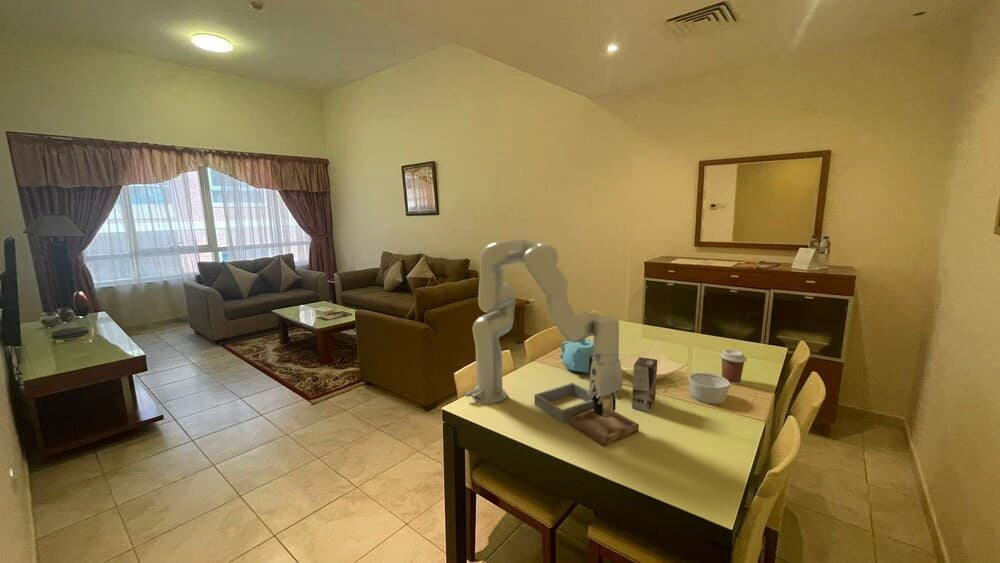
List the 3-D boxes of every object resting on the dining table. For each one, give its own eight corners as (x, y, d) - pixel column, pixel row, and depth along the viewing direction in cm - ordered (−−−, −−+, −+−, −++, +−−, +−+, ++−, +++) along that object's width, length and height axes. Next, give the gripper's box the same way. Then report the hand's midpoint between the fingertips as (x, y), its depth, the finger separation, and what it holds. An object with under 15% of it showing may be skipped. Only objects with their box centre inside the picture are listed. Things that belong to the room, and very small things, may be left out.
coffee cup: (719, 383, 159) (722, 354, 157) (717, 375, 167) (719, 347, 165) (746, 387, 156) (749, 357, 153) (742, 378, 164) (744, 349, 162)
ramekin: (726, 393, 151) (728, 375, 150) (729, 409, 139) (731, 390, 138) (687, 387, 157) (689, 370, 155) (687, 402, 145) (688, 383, 144)
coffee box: (650, 412, 138) (652, 368, 135) (631, 408, 141) (632, 364, 138) (655, 402, 145) (658, 359, 142) (637, 397, 149) (639, 356, 146)
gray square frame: (562, 423, 132) (562, 411, 131) (534, 405, 145) (534, 394, 144) (601, 408, 141) (602, 397, 141) (572, 392, 154) (572, 382, 153)
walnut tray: (604, 447, 119) (604, 439, 118) (569, 424, 131) (569, 417, 131) (638, 431, 126) (638, 424, 126) (602, 411, 139) (603, 405, 138)
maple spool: (604, 419, 124) (605, 400, 123) (593, 412, 128) (593, 394, 127) (616, 414, 127) (616, 396, 126) (604, 408, 131) (604, 390, 130)
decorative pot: (593, 360, 185) (594, 332, 183) (606, 374, 170) (607, 343, 167) (558, 362, 184) (559, 334, 182) (568, 377, 168) (568, 345, 166)
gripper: (594, 366, 117) (593, 424, 120) (634, 354, 126) (632, 408, 129) (576, 358, 123) (576, 414, 126) (615, 347, 132) (614, 399, 135)
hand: (604, 410), depth 128 cm, fingers closed on maple spool, 4 cm apart
